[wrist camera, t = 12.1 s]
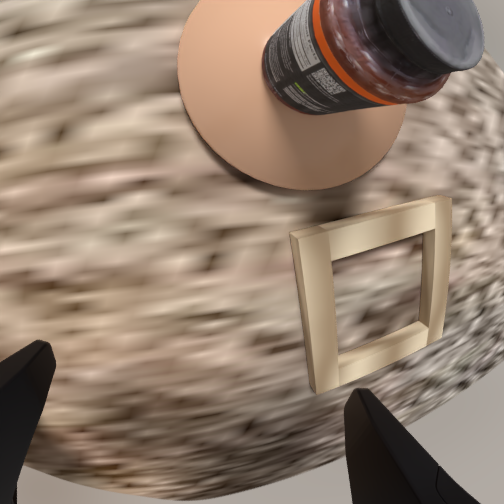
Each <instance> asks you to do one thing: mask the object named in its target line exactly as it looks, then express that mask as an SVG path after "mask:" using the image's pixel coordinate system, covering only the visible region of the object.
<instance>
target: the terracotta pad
mask: <svg viewBox="0 0 504 504" xmlns="http://www.w3.org/2000/svg"><path fill="white" fill-rule="evenodd" d="M305 1H306V0H200V1H199V3H198V4H197V6H196V7H195V8H194V10H193V11H192V13H191V14H190V16H189V18H188V20H187V22H186V25H185V27H184V30H183V33H182V36H181V40H180V44H179V52H178V60H177V72H178V83H179V88H180V94H181V97H182V100H183V103H184V106H185V109H186V111H187V113H188V115H189V117H190V119H191V121H192V123H193V125H194V126H195V128H196V129H197V131H198V132H199V134H200V135H201V137H202V138H203V139H204V140H205V142H206V143H207V144H208V145H209V146H210V147H211V148H212V149H213V151H214V152H216V153H217V154H218V155H219V156H220V157H221V158H223V159H224V160H225V161H226V162H227V163H229V164H230V165H232V166H233V167H235V168H236V169H238V170H239V171H241V172H243V173H245V174H247V175H249V176H251V177H253V178H255V179H258V180H260V181H263V182H266V183H269V184H272V185H275V186H279V187H284V188H288V189H297V190H319V189H326V188H331V187H336V186H339V185H342V184H344V183H347V182H350V181H352V180H354V179H356V178H358V177H360V176H361V175H363V174H364V173H366V172H367V171H368V170H370V169H371V168H372V167H374V166H375V165H376V164H377V163H378V162H379V161H380V160H381V159H382V158H383V157H384V155H385V154H386V153H387V152H388V150H389V149H390V147H391V146H392V144H393V143H394V141H395V139H396V137H397V135H398V133H399V131H400V128H401V126H402V123H403V119H404V116H405V111H406V105H407V104H399V105H390V106H383V107H374V108H366V109H358V110H351V111H345V112H339V113H333V114H326V115H307V114H302V113H299V112H297V111H294V110H292V109H290V108H289V107H287V106H286V105H284V104H283V103H282V102H281V101H279V100H278V99H277V98H276V97H275V95H274V94H273V93H272V91H271V90H270V89H269V87H268V86H267V84H266V81H265V79H264V76H263V71H262V54H263V50H264V47H265V45H266V43H267V41H268V40H269V38H270V37H271V36H272V35H273V33H274V32H275V31H276V30H277V29H278V28H279V27H280V26H281V25H282V24H283V23H284V22H285V21H286V20H287V19H288V18H289V17H290V16H291V15H292V14H293V13H294V12H295V11H296V10H297V9H298V8H299V7H300V6H301V5H302V4H303V3H304V2H305Z"/></svg>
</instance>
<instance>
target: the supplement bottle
mask: <svg viewBox="0 0 504 504" xmlns="http://www.w3.org/2000/svg"><path fill="white" fill-rule="evenodd" d="M483 51H484V31H483V25H482V22H481V19H480V16H479V13H478V10H477V8H476V6H475V4H474V2H473V1H472V0H306V1H305V2H304V3H303V4H302V5H301V6H300V7H299V8H298V9H297V10H296V11H295V12H294V13H293V14H292V15H291V16H290V17H289V18H288V19H287V20H286V21H285V22H284V23H283V24H282V25H281V26H280V27H279V28H278V29H277V30H276V31H275V32H274V33H273V35H272V36H271V37H270V38H269V40H268V41H267V43H266V45H265V47H264V50H263V54H262V71H263V76H264V79H265V81H266V84H267V86H268V87H269V89H270V90H271V91H272V93H273V94H274V95H275V97H276V98H277V99H278V100H279V101H281V102H282V103H283V104H284V105H286V106H287V107H289V108H290V109H292V110H294V111H297V112H299V113H302V114H307V115H326V114H333V113H339V112H345V111H351V110H358V109H366V108H374V107H383V106H390V105H399V104H408V103H416V102H420V101H423V100H426V99H428V98H430V97H432V96H433V95H435V94H436V93H437V92H438V91H439V90H440V89H441V88H442V87H443V86H444V84H445V83H446V81H447V79H448V77H449V75H450V73H451V72H455V71H463V70H468V69H470V68H473V67H474V66H476V65H477V64H478V62H479V61H480V59H481V58H482V54H483Z"/></svg>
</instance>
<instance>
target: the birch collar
mask: <svg viewBox="0 0 504 504" xmlns="http://www.w3.org/2000/svg"><path fill="white" fill-rule="evenodd" d="M420 233H423V259H422V283H421V299H420V312H419V321H417V322H415V323H413V324H411V325H409V326H406V327H404V328H402V329H400V330H398V331H395V332H393V333H391V334H389V335H386V336H384V337H382V338H380V339H377V340H375V341H373V342H370V343H368V344H365V345H363V346H361V347H358V348H356V349H353V350H351V351H348V352H346V353H343V354H340V355H338V345H337V327H336V311H335V298H334V285H333V273H332V263H331V261H333V260H337V259H340V258H343V257H347V256H350V255H353V254H356V253H360V252H363V251H366V250H369V249H373V248H376V247H379V246H382V245H385V244H389V243H392V242H395V241H398V240H401V239H404V238H408V237H411V236H414V235H417V234H420ZM289 234H290V240H291V247H292V253H293V260H294V267H295V274H296V281H297V288H298V295H299V302H300V309H301V317H302V325H303V332H304V340H305V348H306V357H307V365H308V374H309V382H310V385H311V387H312V388H313V390H314V392H315V393H316V395H318V394H321V393H323V392H326V391H329V390H331V389H334V388H336V387H339V386H341V385H344V384H346V383H348V382H351V381H353V380H356V379H358V378H360V377H363V376H365V375H367V374H369V373H372V372H374V371H376V370H378V369H380V368H383V367H385V366H387V365H389V364H391V363H393V362H395V361H397V360H399V359H401V358H403V357H405V356H407V355H409V354H411V353H413V352H415V351H417V350H419V349H421V348H423V347H425V346H427V345H429V344H431V343H432V342H434V341H436V340H438V339H440V338H441V337H442V331H443V324H444V317H445V310H446V302H447V293H448V283H449V272H450V257H451V236H452V198H449V197H445V196H441V195H436V196H432V197H428V198H424V199H420V200H416V201H412V202H408V203H404V204H400V205H396V206H392V207H388V208H384V209H380V210H376V211H372V212H368V213H364V214H360V215H356V216H352V217H348V218H344V219H340V220H336V221H332V222H329V223H325V224H321V225H317V226H313V227H309V228H305V229H301V230H297V231H293V232H290V233H289Z"/></svg>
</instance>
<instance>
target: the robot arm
mask: <svg viewBox="0 0 504 504" xmlns="http://www.w3.org/2000/svg"><path fill="white" fill-rule="evenodd" d="M55 369H56V360H55V357H54V354H53V351H52V347H51V345H50V343H48V342H46V341H42V340H36V341H34V342H32V343H31V344H29V345H27V346H26V347H24V348H23V349H21V350H19V351H18V352H16V353H14V354H13V355H11V356H9V357H8V358H6V359H5V360H3V361H1V362H0V504H17V481H18V478H19V475H20V471H21V468H22V466H23V463H24V460H25V457H26V454H27V451H28V448H29V445H30V443H31V440H32V437H33V434H34V432H35V429H36V427H37V424H38V421H39V419H40V416H41V414H42V411H43V408H44V405H45V402H46V398H47V395H48V391H49V388H50V385H51V382H52V378H53V375H54V372H55ZM344 425H345V450H346V460H347V467H348V474H349V481H350V488H351V495H352V503H353V504H480V503H479V502H478V501H477V500H476V499H474V498H473V497H472V496H471V495H470V494H469V493H467V492H466V491H465V490H464V489H463V488H462V487H461V486H460V485H458V484H457V483H456V482H455V481H454V480H453V479H452V478H451V477H450V476H449V475H448V474H447V473H446V471H444V469H443V468H442V467H441V466H438V463H437V462H436V461H435V460H434V459H433V458H432V457H431V456H430V455H429V453H428V452H427V451H426V450H425V449H424V448H423V447H422V446H421V445H420V444H419V443H418V442H417V440H416V439H415V438H414V437H413V436H412V435H411V434H410V433H409V432H408V431H407V430H406V429H405V428H404V426H403V425H402V424H401V423H400V422H399V421H398V420H397V419H396V418H395V417H394V416H393V415H392V413H391V412H390V411H389V410H388V409H387V408H386V407H385V406H384V405H383V404H382V403H381V402H380V400H379V399H378V398H377V397H376V396H375V395H374V394H373V393H372V392H371V391H370V390H369V389H367V388H356V389H354V390H353V392H352V394H351V395H350V397H349V399H348V401H347V402H346V404H345V407H344Z"/></svg>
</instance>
